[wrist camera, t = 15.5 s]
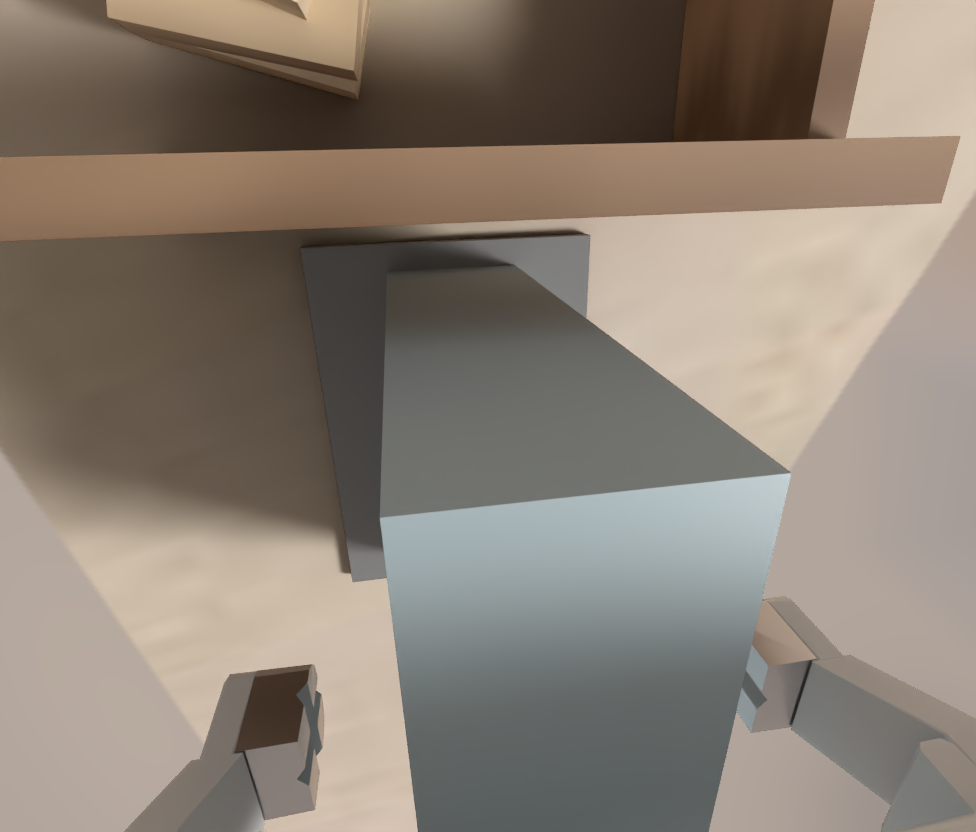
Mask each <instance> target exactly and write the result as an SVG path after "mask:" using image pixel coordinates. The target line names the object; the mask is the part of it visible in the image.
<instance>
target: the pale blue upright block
mask: <svg viewBox="0 0 976 832" xmlns="http://www.w3.org/2000/svg"><path fill="white" fill-rule="evenodd" d="M790 477H791V472H790V471H788V470H787V469H786V468H784V467H783V466H782V465H780V464H779V463H778V462H776V461H775V460H774V459H772V458H771V457H770V456H768V455H767V454H766V453H764V452H763V451H762V450H760V449H759V448H758V447H756V446H755V445H754V444H752V443H751V442H750V441H748V440H747V439H746V438H744V437H743V436H742V435H740V434H739V433H738V432H736V431H735V430H734V429H732V428H731V427H730V426H728V425H727V424H726V423H724V422H723V421H722V420H720V419H719V418H718V417H716V416H715V415H714V414H712V413H711V412H710V411H708V410H707V409H706V408H704V407H703V406H702V405H700V404H699V403H698V402H696V401H695V400H694V399H692V398H691V397H690V396H688V395H687V394H686V393H685V392H683V391H682V390H681V389H679V388H678V387H677V386H675V385H674V384H673V383H671V382H670V381H669V380H667V379H666V378H665V377H663V376H662V375H661V374H659V373H658V372H657V371H655V370H654V369H653V368H651V367H650V366H649V365H647V364H646V363H645V362H643V361H642V360H641V359H639V358H638V357H637V356H635V355H634V354H633V353H631V352H630V351H629V350H627V349H626V348H625V347H623V346H622V345H621V344H619V343H618V342H617V341H615V340H614V339H613V338H611V337H610V336H609V335H607V334H606V333H605V332H603V331H602V330H601V329H599V328H598V327H597V326H595V325H594V324H593V323H591V322H590V321H589V320H587V319H586V318H585V317H583V316H582V315H581V314H579V313H578V312H577V311H575V310H574V309H573V308H571V307H570V306H569V305H567V304H566V303H565V302H563V301H562V300H561V299H559V298H558V297H557V296H555V295H554V294H553V293H552V292H550V291H549V290H548V289H546V288H545V287H544V286H542V285H541V284H540V283H538V282H537V281H536V280H534V279H533V278H532V277H530V276H529V275H528V274H526V273H525V272H524V271H522V270H521V269H520V268H518V267H517V266H516V265H509V266H488V267H468V268H448V269H427V270H407V271H387V293H386V326H385V360H384V393H383V426H382V459H381V492H380V524H381V532H382V541H383V549H384V557H385V565H386V573H387V581H388V590H389V598H390V606H391V614H392V622H393V630H394V639H395V647H396V655H397V663H398V671H399V679H400V688H401V696H402V704H403V712H404V720H405V728H406V737H407V745H408V753H409V761H410V769H411V778H412V786H413V794H414V802H415V810H416V818H417V827H418V832H708V831H709V827H710V823H711V818H712V814H713V809H714V805H715V801H716V797H717V792H718V788H719V784H720V779H721V775H722V771H723V767H724V762H725V758H726V754H727V749H728V745H729V741H730V736H731V732H732V727H733V723H734V719H735V714H736V710H737V706H738V702H739V697H740V693H741V689H742V685H743V680H744V676H745V672H746V667H747V663H748V659H749V654H750V650H751V646H752V641H753V637H754V633H755V628H756V624H757V620H758V615H759V611H760V607H761V602H762V598H763V594H764V589H765V585H766V581H767V576H768V571H769V568H770V563H771V559H772V555H773V550H774V546H775V542H776V538H777V533H778V529H779V525H780V520H781V516H782V511H783V507H784V503H785V499H786V494H787V490H788V486H789V481H790Z"/></svg>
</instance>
